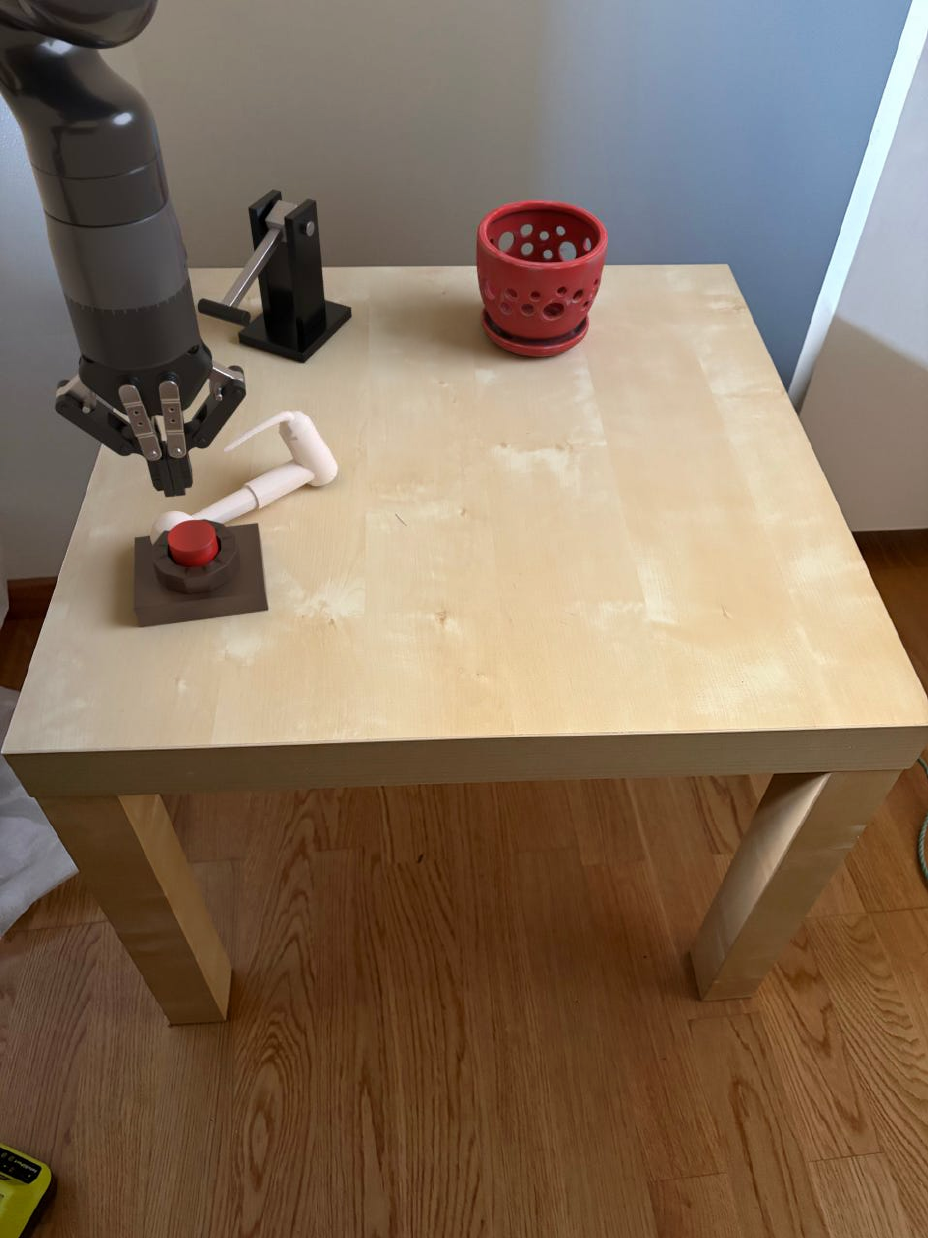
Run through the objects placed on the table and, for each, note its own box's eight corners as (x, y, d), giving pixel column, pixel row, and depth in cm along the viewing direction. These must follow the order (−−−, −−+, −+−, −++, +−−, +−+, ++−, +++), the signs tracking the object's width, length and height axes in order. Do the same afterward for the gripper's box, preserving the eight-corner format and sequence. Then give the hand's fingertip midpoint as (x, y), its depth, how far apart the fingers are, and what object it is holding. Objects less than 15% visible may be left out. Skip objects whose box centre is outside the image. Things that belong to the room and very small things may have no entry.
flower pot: (460, 308, 107) (463, 202, 98) (572, 297, 110) (585, 193, 101) (489, 376, 99) (495, 267, 90) (610, 362, 101) (628, 255, 92)
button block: (139, 627, 75) (127, 592, 72) (140, 556, 80) (129, 520, 77) (268, 610, 77) (262, 575, 74) (261, 541, 82) (255, 506, 79)
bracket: (304, 363, 99) (290, 235, 89) (238, 343, 101) (217, 215, 91) (352, 316, 105) (344, 191, 95) (289, 298, 108) (275, 174, 97)
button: (172, 570, 75) (167, 554, 73) (171, 538, 77) (167, 522, 76) (219, 564, 75) (215, 548, 74) (217, 532, 77) (213, 516, 76)
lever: (246, 333, 91) (238, 315, 88) (202, 319, 92) (193, 302, 90) (316, 226, 95) (310, 207, 93) (273, 215, 97) (266, 196, 94)
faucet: (175, 580, 85) (116, 518, 76) (320, 448, 88) (280, 376, 80) (200, 605, 83) (144, 545, 74) (347, 470, 86) (310, 398, 78)
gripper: (3, 313, 55) (80, 534, 68) (238, 296, 57) (270, 512, 70) (14, 248, 60) (84, 466, 73) (231, 235, 62) (261, 448, 75)
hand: (176, 489), depth 71 cm, fingers closed
